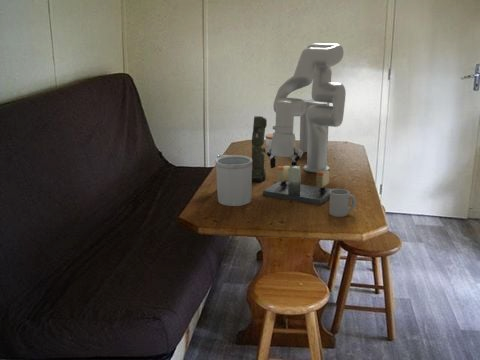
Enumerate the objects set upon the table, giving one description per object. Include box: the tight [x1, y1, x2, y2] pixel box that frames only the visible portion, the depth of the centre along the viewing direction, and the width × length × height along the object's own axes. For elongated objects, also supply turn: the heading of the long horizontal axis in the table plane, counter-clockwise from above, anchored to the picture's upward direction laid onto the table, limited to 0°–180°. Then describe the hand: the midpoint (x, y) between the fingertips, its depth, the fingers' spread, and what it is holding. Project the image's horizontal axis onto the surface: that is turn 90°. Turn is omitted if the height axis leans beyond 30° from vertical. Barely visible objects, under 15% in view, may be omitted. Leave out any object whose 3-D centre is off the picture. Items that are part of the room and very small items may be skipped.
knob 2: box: [315, 170, 331, 190], centre depth 234 cm, size 8×3×8 cm, turn 151°
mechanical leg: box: [251, 115, 267, 184], centre depth 257 cm, size 14×7×30 cm, turn 168°
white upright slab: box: [299, 98, 330, 153], centre depth 307 cm, size 19×15×28 cm
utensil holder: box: [214, 154, 253, 207], centre depth 227 cm, size 15×15×18 cm
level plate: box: [262, 165, 333, 206], centre depth 235 cm, size 16×26×13 cm, turn 61°
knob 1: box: [276, 165, 291, 184], centre depth 243 cm, size 8×3×8 cm, turn 151°
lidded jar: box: [264, 133, 273, 147], centre depth 316 cm, size 11×11×9 cm
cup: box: [328, 188, 357, 218], centre depth 213 cm, size 7×10×9 cm
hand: (283, 169), depth 242 cm, fingers open, 9 cm apart
